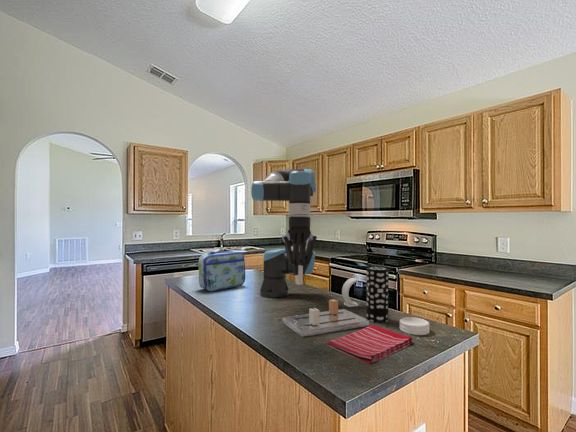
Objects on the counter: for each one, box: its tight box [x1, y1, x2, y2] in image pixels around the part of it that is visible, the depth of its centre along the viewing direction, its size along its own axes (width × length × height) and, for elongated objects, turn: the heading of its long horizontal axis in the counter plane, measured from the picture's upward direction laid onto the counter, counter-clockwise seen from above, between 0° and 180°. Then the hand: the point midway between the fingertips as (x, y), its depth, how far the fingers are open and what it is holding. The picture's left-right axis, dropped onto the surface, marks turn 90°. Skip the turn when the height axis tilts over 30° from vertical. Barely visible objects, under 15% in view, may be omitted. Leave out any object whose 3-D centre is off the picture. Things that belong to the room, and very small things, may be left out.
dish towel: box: [325, 324, 414, 365], centre depth 100 cm, size 17×24×3 cm
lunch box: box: [197, 250, 246, 293], centre depth 178 cm, size 26×11×21 cm, turn 130°
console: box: [282, 308, 370, 338], centre depth 119 cm, size 16×28×2 cm, turn 114°
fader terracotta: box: [328, 298, 339, 314], centre depth 125 cm, size 3×2×5 cm
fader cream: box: [308, 307, 320, 325], centre depth 112 cm, size 3×2×5 cm
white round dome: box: [399, 316, 431, 336], centre depth 113 cm, size 10×10×4 cm
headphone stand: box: [341, 277, 359, 308], centre depth 145 cm, size 5×6×12 cm
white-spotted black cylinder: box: [365, 266, 390, 324], centre depth 125 cm, size 8×8×20 cm
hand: (298, 284), depth 110 cm, fingers closed
